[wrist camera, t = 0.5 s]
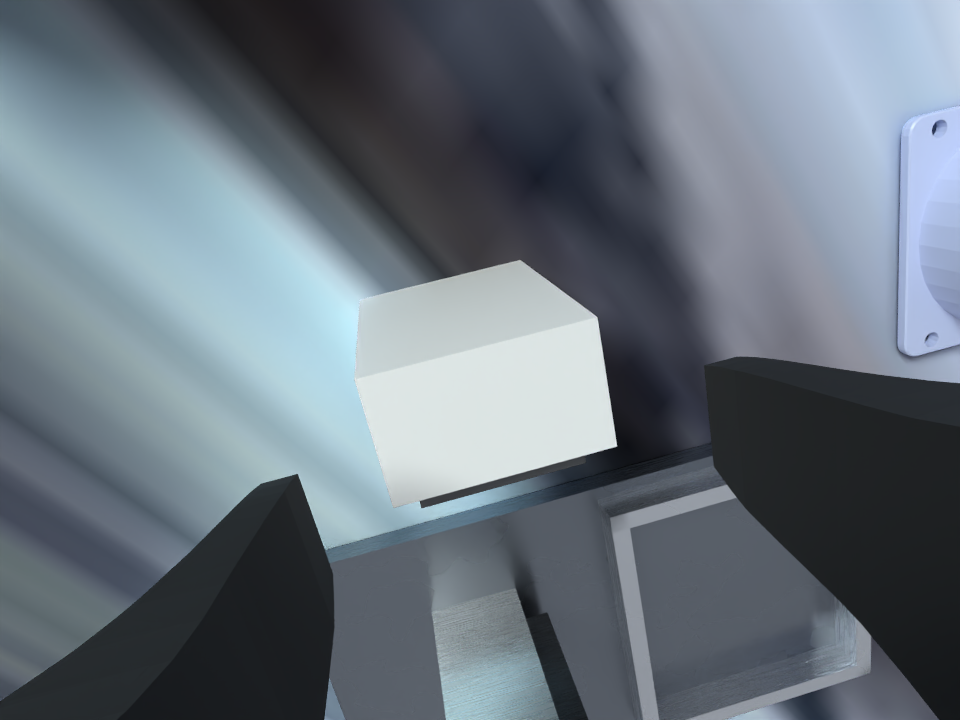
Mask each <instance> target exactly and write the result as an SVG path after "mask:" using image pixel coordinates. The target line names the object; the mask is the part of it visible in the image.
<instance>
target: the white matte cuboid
mask: <svg viewBox="0 0 960 720" xmlns="http://www.w3.org/2000/svg"><path fill="white" fill-rule="evenodd" d="M354 380H355V383H356V386H357V390H358V393H359V396H360V400H361V403H362V406H363V410H364V413H365V416H366V419H367V423H368V426H369V429H370V433H371V436H372V439H373V443H374V446H375V449H376V452H377V456H378V459H379V462H380V466H381V469H382V472H383V476H384V479H385V482H386V486H387V489H388V492H389V495H390V499H391V502H392V505H393V508H396V507H399V506H403V505H406V504H410V503H414V502H417V501H420V504H421V508H425V507H428V506H432V505H436V504H439V503H443V502H446V501H450V500H454V499H457V498H461V497H464V496H468V495H472V494H475V493H479V492H483V491H486V490H490V489H493V488H497V487H501V486H504V485H508V484H511V483H515V482H519V481H522V480H526V479H530V478H533V477H537V476H540V475H544V474H548V473H551V472H555V471H558V470H562V469H566V468H569V467H573V466H577V465H580V464H584V463H586V459H585V455H588V454H592V453H595V452H599V451H602V450H606V449H610V448H613V447H617V442H616V436H615V429H614V423H613V416H612V410H611V403H610V397H609V390H608V383H607V377H606V370H605V364H604V357H603V351H602V344H601V338H600V331H599V325H598V318H597V317H596V316H595V315H594V314H592V313H591V312H590V311H588V310H587V309H586V308H584V307H583V306H582V305H580V304H579V303H578V302H576V301H575V300H573V299H572V298H571V297H569V296H568V295H567V294H565V293H564V292H563V291H561V290H560V289H559V288H557V287H556V286H555V285H553V284H552V283H551V282H549V281H548V280H547V279H545V278H544V277H542V276H541V275H540V274H538V273H537V272H536V271H534V270H533V269H532V268H530V267H529V266H528V265H526V264H525V263H524V262H522V261H521V260H519V261H515V262H510V263H506V264H502V265H498V266H494V267H490V268H486V269H482V270H478V271H474V272H470V273H466V274H462V275H458V276H454V277H449V278H445V279H441V280H437V281H433V282H429V283H425V284H421V285H417V286H413V287H409V288H405V289H401V290H397V291H392V292H388V293H384V294H380V295H376V296H372V297H368V298H364V299H360V301H359V316H358V332H357V347H356V363H355V378H354Z"/></svg>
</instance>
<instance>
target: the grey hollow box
mask: <svg viewBox="0 0 960 720" xmlns="http://www.w3.org/2000/svg"><path fill="white" fill-rule="evenodd" d="M325 552H326V555H327V558H328V561H329V563H330V566H331V569H332V572H333V583H334V624H335V628H334V638H333V647H332V656H331V665H330V674H329V678H330V680H331V683H332V686H333V688H334V691H335V693H336V696H337V698H338V701H339V704H340V706H341V709H342V711H343V714H344V717H345V719H346V720H724V719H728V718H731V717H734V716H737V715H740V714H743V713H746V712H750V711H753V710H756V709H759V708H762V707H765V706H768V705H772V704H775V703H778V702H781V701H784V700H787V699H790V698H794V697H797V696H800V695H803V694H806V693H809V692H812V691H816V690H819V689H822V688H825V687H828V686H831V685H834V684H838V683H841V682H844V681H847V680H850V679H853V678H857V677H860V676H863V675H866V674H869V673H871V635H870V634H869V633H868V632H867V630H866V629H865V628H864V627H863V626H862V624H861V623H860V622H859V621H858V620H857V619H856V618H855V617H854V616H853V615H852V614H851V613H850V612H849V611H848V610H847V608H846V607H845V606H844V605H843V604H842V603H841V602H840V601H839V600H838V599H837V598H836V597H835V596H834V595H833V594H832V593H831V592H830V591H829V590H828V589H827V588H826V587H825V586H824V585H822V584H821V583H820V582H819V581H818V580H817V579H816V578H815V577H814V576H813V575H812V574H811V573H810V572H809V571H808V570H807V569H806V568H805V567H804V566H803V565H802V564H801V563H800V562H799V561H798V560H797V559H796V558H795V557H794V556H793V555H792V554H791V553H790V552H789V551H788V550H787V549H785V548H784V547H783V546H782V545H781V544H780V543H779V542H778V541H777V540H776V539H775V538H774V537H773V536H772V535H771V534H770V533H769V532H768V531H767V530H766V529H765V528H764V527H763V526H762V525H761V524H760V523H759V522H758V521H757V520H756V519H755V518H754V517H753V516H752V515H751V514H750V513H749V512H748V511H747V510H746V509H745V507H744V506H743V505H742V504H741V502H740V501H739V500H738V498H737V497H736V496H735V495H734V493H733V492H732V491H731V490H730V488H729V487H728V485H727V484H726V483H725V481H724V480H723V479H722V477H721V476H720V474H719V473H718V472H717V470H716V469H715V468H714V463H713V453H712V443H709V444H705V445H702V446H698V447H695V448H691V449H688V450H684V451H680V452H677V453H673V454H670V455H666V456H662V457H659V458H655V459H652V460H648V461H644V462H641V463H637V464H634V465H630V466H626V467H623V468H619V469H616V470H612V471H608V472H605V473H601V474H598V475H594V476H590V477H587V478H583V479H580V480H576V481H572V482H569V483H565V484H562V485H558V486H555V487H551V488H547V489H544V490H540V491H537V492H533V493H529V494H526V495H522V496H519V497H515V498H511V499H508V500H504V501H501V502H497V503H493V504H490V505H486V506H483V507H479V508H475V509H472V510H468V511H465V512H461V513H457V514H454V515H450V516H447V517H443V518H440V519H436V520H432V521H429V522H425V523H422V524H418V525H414V526H411V527H407V528H404V529H400V530H396V531H393V532H389V533H386V534H382V535H378V536H375V537H371V538H368V539H364V540H360V541H357V542H353V543H350V544H346V545H342V546H339V547H335V548H332V549H328V550H325Z"/></svg>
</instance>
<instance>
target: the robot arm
mask: <svg viewBox="0 0 960 720" xmlns="http://www.w3.org/2000/svg"><path fill="white" fill-rule="evenodd" d="M935 123H936V126H937V128H936V132H935V133H934V135H933V134H932V127H933V125H934V124H935ZM928 334H929V337H928V339H927V340H926V342H925V338H926V337H927V335H928ZM897 344H898V349H899V350H900V351H901V352H902V353H904V354H907V355H910V356H919V355H923V354H926V353H930V352H934V351H937V350H941V349H945V348H948V347H952V346H956V345H959V344H960V105H959V106H955V107H951V108H946V109H942V110H938V111H934V112H930V113H926V114H921V115H917V116H915V117H912V118H910V119H909V120H908V121H907V122H906V124H905V125H904V127H903V129H902V134H901V176H900V232H899V287H898V343H897ZM704 369H705V380H706V390H707V401H708V411H709V422H710V432H711V442H712V453H713V463H714V468H715V469H716V470H717V472H718V473H719V474H720V476H721V477H722V479H723V480H724V481H725V483H726V484H727V485H728V487H729V488H730V490H731V491H732V492H733V493H734V495H735V496H736V497H737V498H738V500H739V501H740V502H741V504H742V505H743V506H744V507H745V509H746V510H747V511H748V512H749V513H750V514H751V515H752V516H753V517H754V518H755V519H756V520H757V521H758V522H759V523H760V524H761V525H762V526H763V527H764V528H765V529H766V530H767V531H768V532H769V533H770V534H771V535H772V536H773V537H774V538H775V539H776V540H777V541H778V542H779V543H780V544H781V545H782V546H783V547H784V548H785V549H787V550H788V551H789V552H790V553H791V554H792V555H793V556H794V557H795V558H796V559H797V560H798V561H799V562H800V563H801V564H802V565H803V566H804V567H805V568H806V569H807V570H808V571H809V572H810V573H811V574H812V575H813V576H814V577H815V578H816V579H817V580H818V581H819V582H820V583H821V584H822V585H824V586H825V587H826V588H827V589H828V590H829V591H830V592H831V593H832V594H833V595H834V596H835V597H836V598H837V599H838V600H839V601H840V602H841V603H842V604H843V605H844V606H845V607H846V608H847V610H848V611H849V612H850V613H851V614H852V615H853V616H854V617H855V618H856V619H857V620H858V621H859V622H860V623H861V624H862V626H863V627H864V628H865V629H866V630H867V632H868V633H869V634H870V635H871V636H872V638H873V639H874V640H875V641H876V642H877V644H878V645H879V646H880V647H881V648H882V649H883V651H884V652H885V653H886V654H887V655H888V657H889V658H890V659H891V660H892V661H893V663H894V664H895V665H896V666H897V667H898V669H899V670H900V671H901V672H902V673H903V675H904V676H905V677H906V678H907V679H908V681H909V682H910V683H911V685H912V686H913V687H914V688H915V690H916V691H917V692H918V693H919V695H920V696H921V697H922V698H923V700H924V701H925V702H926V704H927V705H928V706H929V707H930V709H931V710H932V711H933V712H934V714H935V715H936V716H937V717H938V719H939V720H960V383H949V382H937V381H927V380H919V379H910V378H901V377H892V376H884V375H877V374H870V373H862V372H856V371H849V370H842V369H836V368H829V367H823V366H816V365H810V364H803V363H797V362H790V361H783V360H776V359H768V358H758V357H734V358H730V359H727V360H723V361H719V362H715V363H712V364H708V365H704ZM334 628H335V624H334V583H333V572H332V569H331V566H330V563H329V561H328V558H327V555H326V552H325V549H324V547H323V544H322V541H321V538H320V535H319V533H318V530H317V527H316V524H315V521H314V519H313V516H312V513H311V510H310V507H309V505H308V502H307V499H306V496H305V493H304V490H303V488H302V485H301V482H300V479H299V476H298V474H296V475H292V476H288V477H285V478H281V479H277V480H273V481H270V482H266V483H262V484H260V485H259V486H258V487H256V488H255V489H254V490H253V491H251V492H250V493H249V494H248V495H247V496H246V497H245V498H244V499H243V500H242V501H241V502H240V503H239V504H238V505H237V506H236V507H235V508H234V509H233V510H232V511H231V512H230V513H229V514H228V515H227V516H226V517H225V518H224V519H223V520H222V521H221V522H220V523H219V524H218V525H217V526H216V527H215V528H214V529H213V530H212V531H211V532H210V533H209V534H208V535H207V536H206V537H205V538H204V539H203V540H202V541H201V542H200V543H199V544H198V545H197V546H196V547H195V548H194V549H193V550H192V551H191V552H190V553H189V554H188V555H186V556H185V557H184V558H183V559H182V560H181V561H180V562H179V563H178V564H177V565H176V566H174V567H173V568H172V569H171V570H170V571H169V572H168V573H167V574H166V575H165V576H164V577H163V578H161V579H160V580H159V581H158V582H157V583H156V584H155V585H154V586H153V587H152V588H151V589H149V590H148V591H147V592H146V593H145V594H144V595H143V596H142V597H141V598H139V599H138V600H137V601H136V602H135V603H134V604H132V605H131V606H130V607H129V608H128V609H126V610H125V611H124V612H123V613H122V614H120V615H119V616H118V617H117V618H116V619H114V620H113V621H112V622H111V623H109V624H108V625H107V626H105V627H104V628H103V629H102V630H100V631H99V632H98V633H96V634H95V635H94V636H92V637H91V638H90V639H89V640H87V641H86V642H85V643H83V644H82V645H81V646H80V647H78V648H77V649H75V650H74V651H73V652H71V653H70V654H69V655H67V656H66V657H65V658H63V659H62V660H60V661H59V662H57V663H56V664H54V665H53V666H51V667H50V668H48V669H47V670H46V671H44V672H43V673H41V674H40V675H38V676H37V677H35V678H34V679H32V680H31V681H29V682H28V683H27V684H25V685H24V686H22V687H21V688H19V689H18V690H16V691H15V692H13V693H12V694H10V695H9V696H8V697H6V698H5V699H3V700H2V701H0V720H324V716H325V708H326V699H327V691H328V683H329V674H330V665H331V656H332V647H333V638H334Z"/></svg>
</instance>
